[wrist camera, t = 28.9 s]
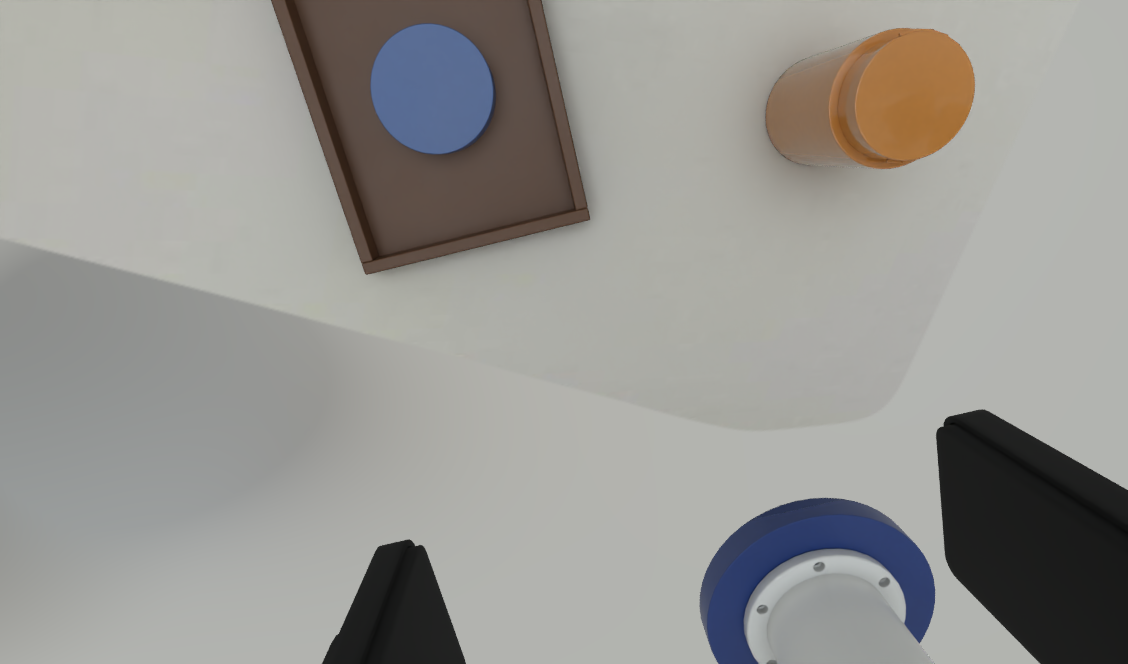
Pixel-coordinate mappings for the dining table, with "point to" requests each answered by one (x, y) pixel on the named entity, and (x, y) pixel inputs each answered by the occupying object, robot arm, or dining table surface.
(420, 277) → the dining table surface
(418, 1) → the tray
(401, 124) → the lid
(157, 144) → the dining table surface
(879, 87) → the jar
